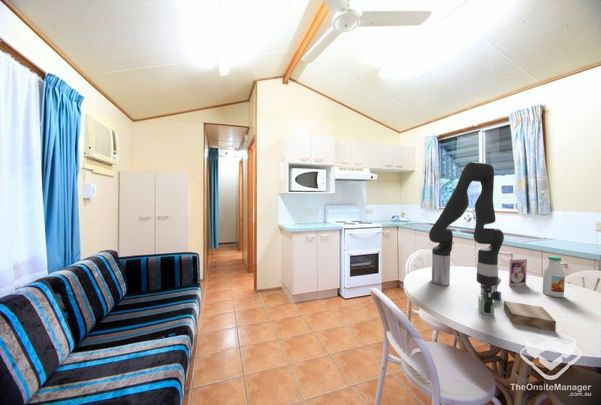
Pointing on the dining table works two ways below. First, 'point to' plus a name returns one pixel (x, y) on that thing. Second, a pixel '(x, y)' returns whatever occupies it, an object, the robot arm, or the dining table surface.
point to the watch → (496, 293)
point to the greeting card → (517, 272)
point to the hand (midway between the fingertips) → (486, 309)
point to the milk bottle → (553, 278)
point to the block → (481, 306)
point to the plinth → (529, 315)
